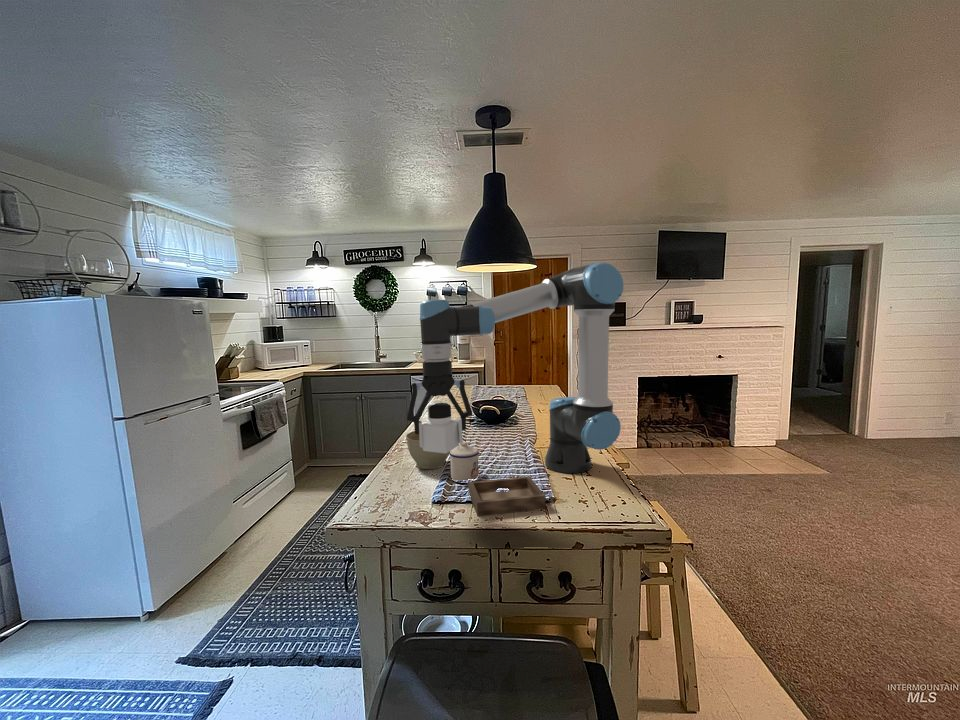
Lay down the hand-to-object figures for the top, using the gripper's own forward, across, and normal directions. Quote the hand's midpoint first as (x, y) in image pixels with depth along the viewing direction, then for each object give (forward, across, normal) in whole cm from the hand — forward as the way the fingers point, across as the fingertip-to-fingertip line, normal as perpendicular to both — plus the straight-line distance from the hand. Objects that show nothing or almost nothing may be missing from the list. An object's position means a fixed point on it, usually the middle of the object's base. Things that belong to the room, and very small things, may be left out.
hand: (441, 444), depth 111 cm
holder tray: (+17, +17, -1) cm, 24 cm away
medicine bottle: (+1, 0, 0) cm, 1 cm away
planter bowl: (+17, -2, +33) cm, 37 cm away
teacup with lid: (+17, +8, +19) cm, 27 cm away
